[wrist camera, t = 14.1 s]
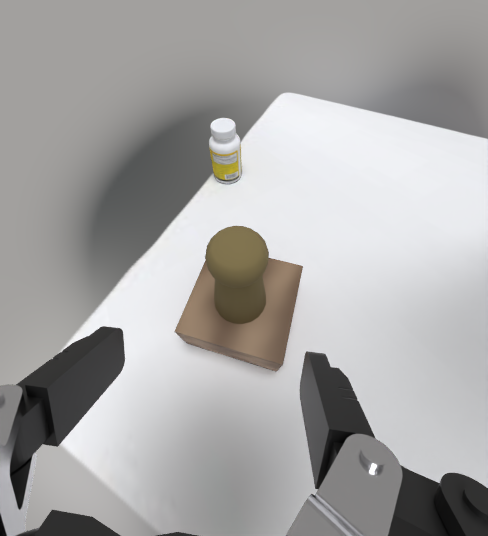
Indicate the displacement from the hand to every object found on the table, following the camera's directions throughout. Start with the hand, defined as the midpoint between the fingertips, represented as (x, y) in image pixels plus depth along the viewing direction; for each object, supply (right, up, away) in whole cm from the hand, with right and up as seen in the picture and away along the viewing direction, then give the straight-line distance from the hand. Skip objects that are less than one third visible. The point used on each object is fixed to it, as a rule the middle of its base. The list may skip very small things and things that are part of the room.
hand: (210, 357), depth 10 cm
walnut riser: (+1, -2, +23) cm, 23 cm away
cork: (+1, 0, +18) cm, 18 cm away
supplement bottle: (-2, +22, +37) cm, 43 cm away
